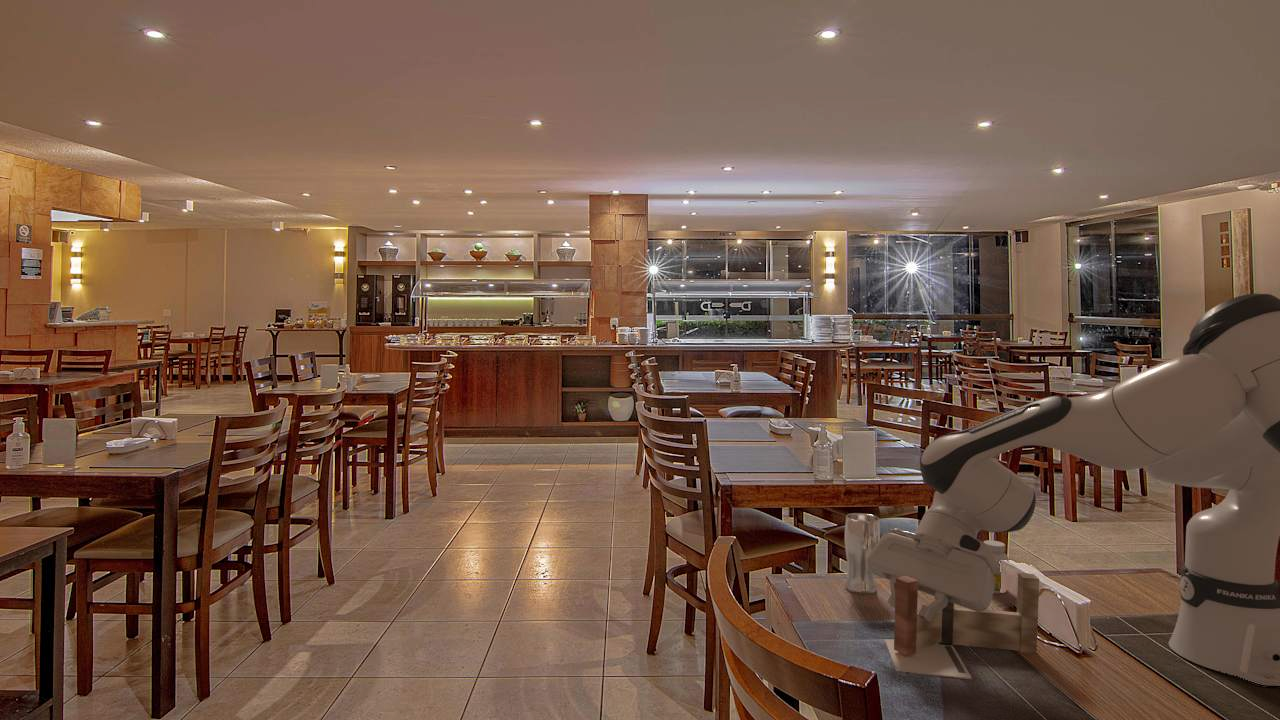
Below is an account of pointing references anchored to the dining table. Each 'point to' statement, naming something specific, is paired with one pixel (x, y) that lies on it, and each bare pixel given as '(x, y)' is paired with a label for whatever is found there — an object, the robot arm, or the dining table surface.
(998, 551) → the supplement bottle
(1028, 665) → the dining table surface
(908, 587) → the fence gate
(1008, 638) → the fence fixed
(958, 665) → the card
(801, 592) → the dining table surface
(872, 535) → the beer glass
